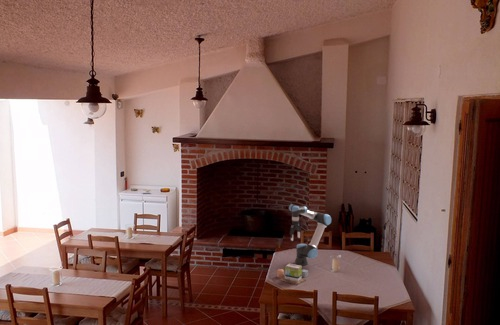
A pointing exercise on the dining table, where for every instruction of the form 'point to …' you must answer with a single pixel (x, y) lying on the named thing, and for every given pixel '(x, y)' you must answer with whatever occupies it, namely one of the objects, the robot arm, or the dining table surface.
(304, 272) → the slate block
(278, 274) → the terracotta jar
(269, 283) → the dining table surface
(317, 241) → the robot arm
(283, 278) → the slatted wooden board
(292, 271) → the tea box
